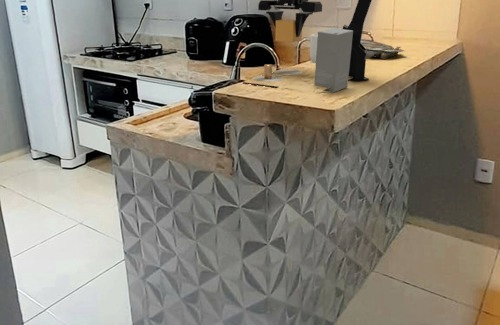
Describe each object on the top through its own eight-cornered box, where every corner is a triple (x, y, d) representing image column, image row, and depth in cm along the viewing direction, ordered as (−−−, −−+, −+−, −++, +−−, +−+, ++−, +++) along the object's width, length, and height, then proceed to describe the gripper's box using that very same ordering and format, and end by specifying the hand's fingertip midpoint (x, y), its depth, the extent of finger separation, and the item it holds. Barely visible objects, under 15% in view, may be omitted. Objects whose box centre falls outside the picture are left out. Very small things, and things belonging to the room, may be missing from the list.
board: (311, 75, 153) (311, 71, 152) (276, 88, 135) (276, 83, 135) (280, 72, 158) (280, 68, 158) (242, 83, 141) (242, 79, 140)
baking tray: (413, 56, 194) (415, 42, 192) (393, 63, 177) (394, 47, 176) (344, 49, 211) (346, 36, 209) (320, 54, 194) (321, 40, 192)
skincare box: (328, 84, 140) (331, 27, 134) (350, 88, 135) (355, 29, 130) (312, 89, 133) (314, 30, 128) (335, 93, 129) (339, 31, 124)
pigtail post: (273, 78, 142) (273, 64, 141) (269, 79, 140) (269, 65, 139) (266, 77, 143) (266, 64, 142) (262, 79, 141) (262, 65, 140)
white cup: (330, 66, 168) (332, 36, 165) (307, 65, 170) (309, 36, 166) (331, 62, 175) (333, 34, 172) (309, 62, 177) (311, 33, 173)
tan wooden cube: (301, 40, 149) (302, 20, 146) (292, 42, 144) (293, 21, 142) (284, 39, 151) (285, 19, 149) (275, 41, 147) (275, 20, 145)
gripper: (331, -19, 143) (328, 35, 149) (276, -20, 153) (275, 32, 158) (315, -19, 135) (312, 39, 140) (257, -20, 144) (257, 35, 150)
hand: (288, 36), depth 147 cm, fingers closed on tan wooden cube, 6 cm apart
